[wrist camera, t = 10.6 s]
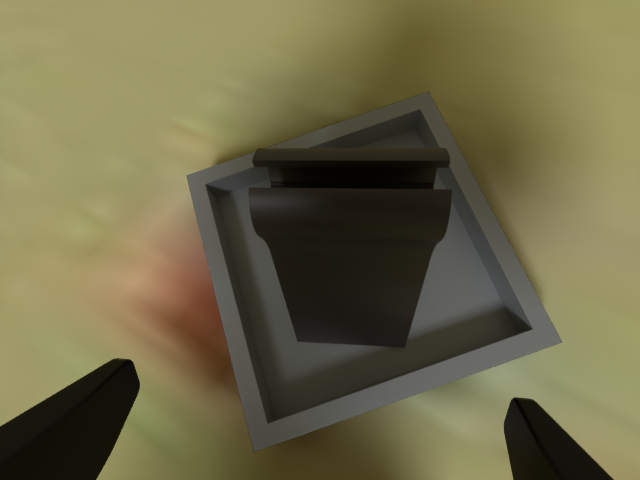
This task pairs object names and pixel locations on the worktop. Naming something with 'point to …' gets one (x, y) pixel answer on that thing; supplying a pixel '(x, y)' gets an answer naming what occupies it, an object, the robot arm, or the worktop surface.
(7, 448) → the robot arm
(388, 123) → the tray
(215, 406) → the worktop surface
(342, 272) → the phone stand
